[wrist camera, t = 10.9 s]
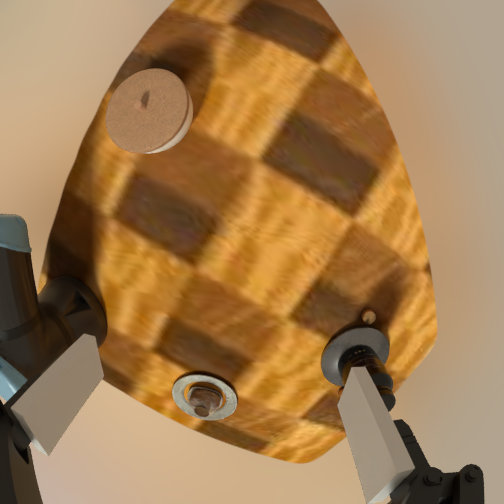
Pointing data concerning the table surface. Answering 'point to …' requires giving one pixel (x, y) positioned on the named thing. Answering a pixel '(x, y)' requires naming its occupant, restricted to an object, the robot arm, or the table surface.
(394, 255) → the table surface
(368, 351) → the supplement bottle
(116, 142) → the lidded jar
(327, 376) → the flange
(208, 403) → the grey ring with stone
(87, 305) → the robot arm
